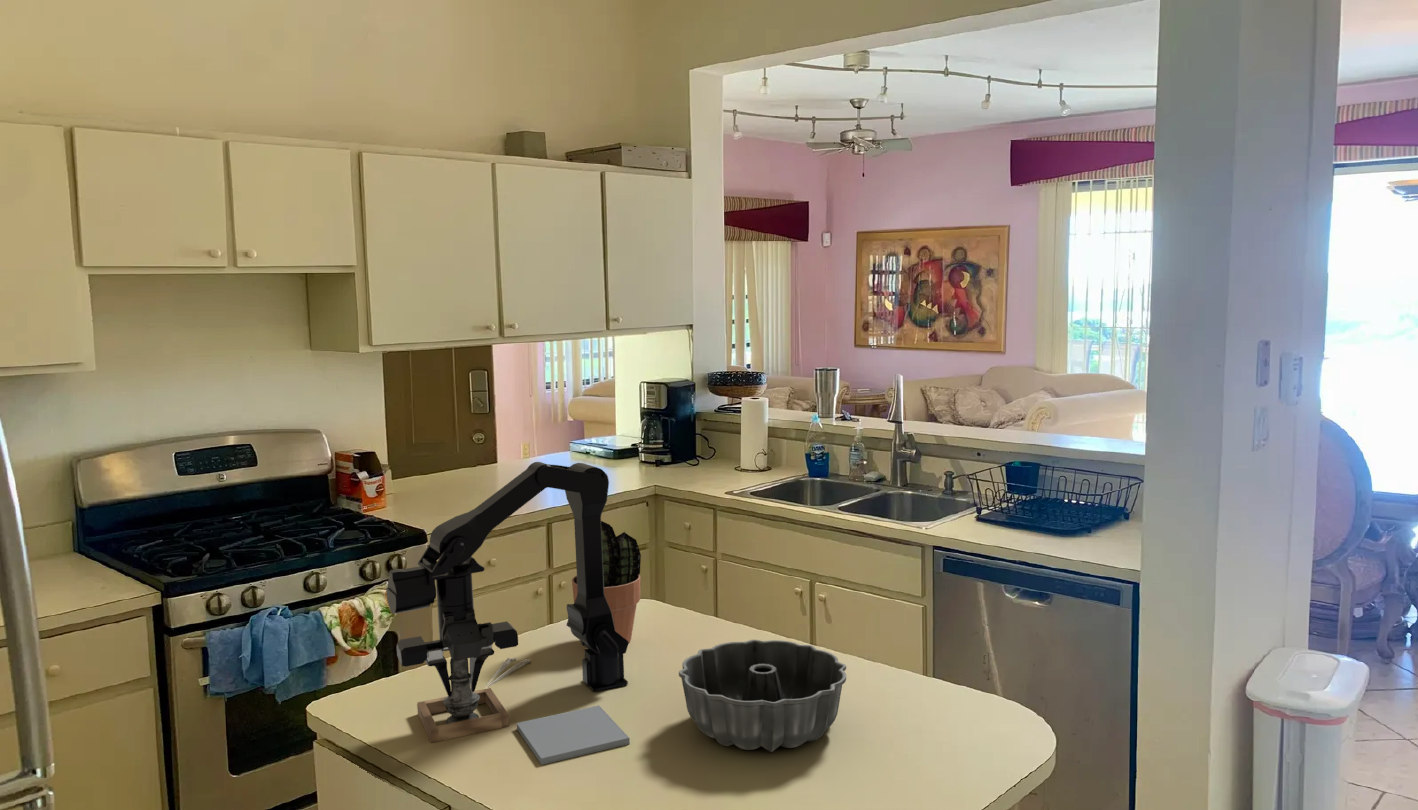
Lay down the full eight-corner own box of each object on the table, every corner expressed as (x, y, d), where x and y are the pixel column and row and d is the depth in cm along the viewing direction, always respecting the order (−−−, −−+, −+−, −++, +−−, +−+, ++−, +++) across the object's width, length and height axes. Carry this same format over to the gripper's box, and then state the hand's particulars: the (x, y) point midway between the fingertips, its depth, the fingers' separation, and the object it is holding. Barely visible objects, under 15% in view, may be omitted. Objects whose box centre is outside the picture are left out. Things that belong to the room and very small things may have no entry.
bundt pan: (862, 703, 166) (861, 645, 165) (828, 777, 142) (827, 709, 141) (712, 687, 175) (711, 632, 174) (656, 754, 150) (654, 690, 149)
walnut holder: (491, 698, 173) (490, 687, 173) (509, 725, 162) (508, 714, 162) (417, 713, 168) (417, 702, 167) (431, 742, 156) (430, 730, 156)
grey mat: (599, 710, 166) (599, 705, 166) (629, 743, 154) (629, 737, 154) (516, 729, 160) (516, 723, 160) (541, 764, 148) (541, 758, 148)
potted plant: (614, 658, 190) (608, 530, 188) (560, 646, 198) (554, 522, 195) (656, 636, 202) (651, 515, 199) (603, 625, 209) (598, 509, 206)
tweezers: (510, 661, 192) (509, 652, 191) (532, 664, 190) (532, 654, 190) (464, 704, 175) (463, 693, 175) (488, 707, 174) (487, 696, 174)
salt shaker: (471, 728, 161) (467, 656, 160) (437, 726, 162) (433, 655, 161) (486, 713, 167) (482, 644, 166) (454, 711, 168) (449, 642, 167)
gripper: (404, 625, 151) (410, 723, 153) (524, 605, 159) (529, 699, 161) (393, 605, 161) (399, 698, 163) (507, 587, 169) (512, 676, 171)
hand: (461, 693), depth 164 cm, fingers closed on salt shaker, 3 cm apart
